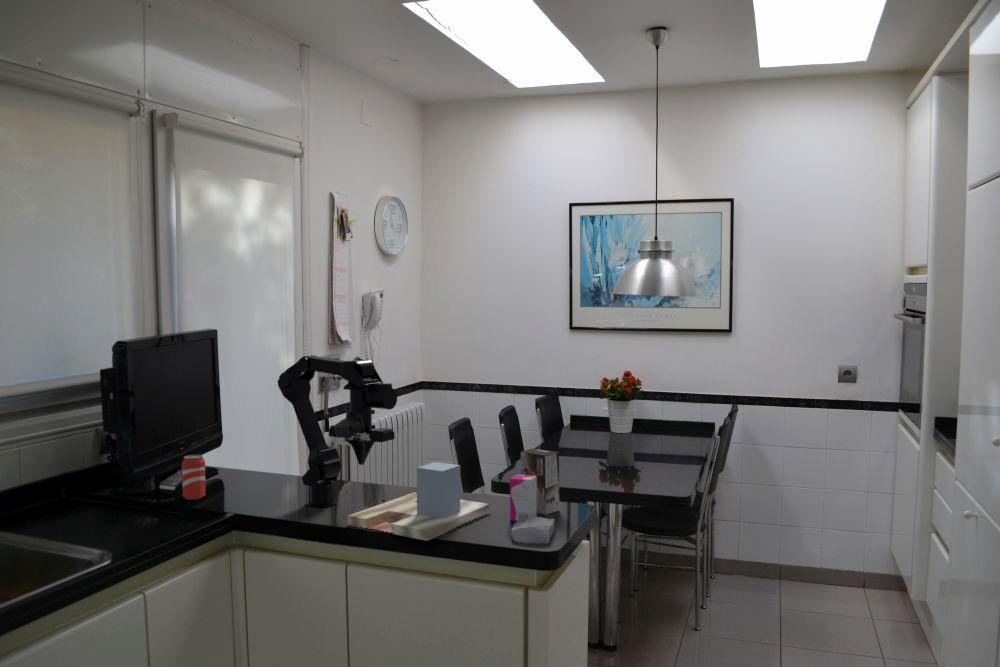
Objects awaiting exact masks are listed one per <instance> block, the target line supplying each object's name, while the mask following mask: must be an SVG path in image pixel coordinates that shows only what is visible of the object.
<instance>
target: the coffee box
mask: <svg viewBox="0 0 1000 667" xmlns="http://www.w3.org/2000/svg"><path fill="white" fill-rule="evenodd" d="M520 475H533V476H537V514H540V515H550V514H553V513H557V512H559V511H560V452H559V451H552V450H546V449H542V448H531V449H525V450H522V451H520Z"/></svg>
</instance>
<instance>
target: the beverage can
mask: <svg viewBox="0 0 1000 667" xmlns="http://www.w3.org/2000/svg"><path fill="white" fill-rule="evenodd" d="M181 471H182V472H181V474H182V475H181V479H182V487H181V488H182V497H183V498H185V499H186V500H192V501H193V500H200V499H202V498H204V496H206V460H205V459H204V455H202V454H189V455H188V454H187V455H185V456H183V461H182V462H181Z"/></svg>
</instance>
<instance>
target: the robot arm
mask: <svg viewBox="0 0 1000 667" xmlns="http://www.w3.org/2000/svg"><path fill="white" fill-rule="evenodd" d="M316 372H318V373H324V374H330V375H336V376H339V377H341V378H342V379H343V380H345V381H347V383H346V384H345V385H344V386H343V390H345V391H346V390H347V391H349V410H347V411H346V413H345V418H344V419H341V420H340V421H339V422H337V423H335V424H334V425H330V427H329V429H328V437H333V438H338V439H339V438H341V439H342V438H343V439H344V442H347V443H348V444H349V445H350V446H351V447H352V449H353V452H354V455H355V457H356V460H357V463H358V465H360V466H363V465H365V462H366V461H367V459H368V458H367V457H368V456H369V453H370V451H371V449H372V448H373V446H374V444H375V443H384V442H388V441H389V442H390V441H393V440H395V439H396V438H395V431H394V430H393V428H386V427H380V428H376V425H375V424H373V422H372V421H373V419H372V418H373V417H372V415H375V414H376V412H375V411H376V410H375V409H380V410H381V409H382V410H392V409H394V408H395V407H396V405H397V402H398V395H397V392H396V390H395V389H394V388H393V384H392V383H390V382H386V383H384V382H383V379H382V378H381V376H380V374H379V373H378V371H377V370H376V368H375V365H374V363H373V361H372V360H371V359H355V360H342V359H335V358H330V357H329V358H328V357H322V356H318V355H316V354H315V355H304V356H302V357H301V358H299V359H298V360H297V361H296V362H295V363H293V365H291V366H290V367H288V368H287V369H285V371H284V372H282V373H281V374H280V375H279V377H278V380H277V386H278V388H279V391H280V392H281V394H282V396H283V397H284V398H285V400H287V401H288V402H289V403H290V404H291V405H292V407H293V410H294V412H295V415H296V419H297V421H298V423H299V426H300V429H301V432H302V435H303V437H304V440H305V442H306V446H307V448H308V457H307V458H308V459H307V465H308V466H307V467H308V470H307V471H306V472H305V473H304V474H303V475H302V477H301V480H302V483H303V485H304V486H308V488H307V490H308V493H307V494H308V502H305V503H304V506H306V507H311V506H312V508H316V507H317V508H318V509H324V508H326V507H330V506H332V505H336V504H337V503H338V502H337V501H336V500H334V495H335V494H334V493H335V492H334V487H333V484H334V483H333V482H336V481H338V477H339V474H340V472H341V469H342V463H341V462H342V458H341V457H340V456H339V451H338V448H336V447H333V448H331V447H330V446H329V445H328V444H327V442H326V440H325V437H324V434H323V432H322V431H323V430H322V429H321V426H320V423H319V421H318V417H317V416H316V413H315V409H314V407H313V405H312V401H311V399H310V395H311V390H312V387H311V381H312V379H314V378H315V375H316Z"/></svg>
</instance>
